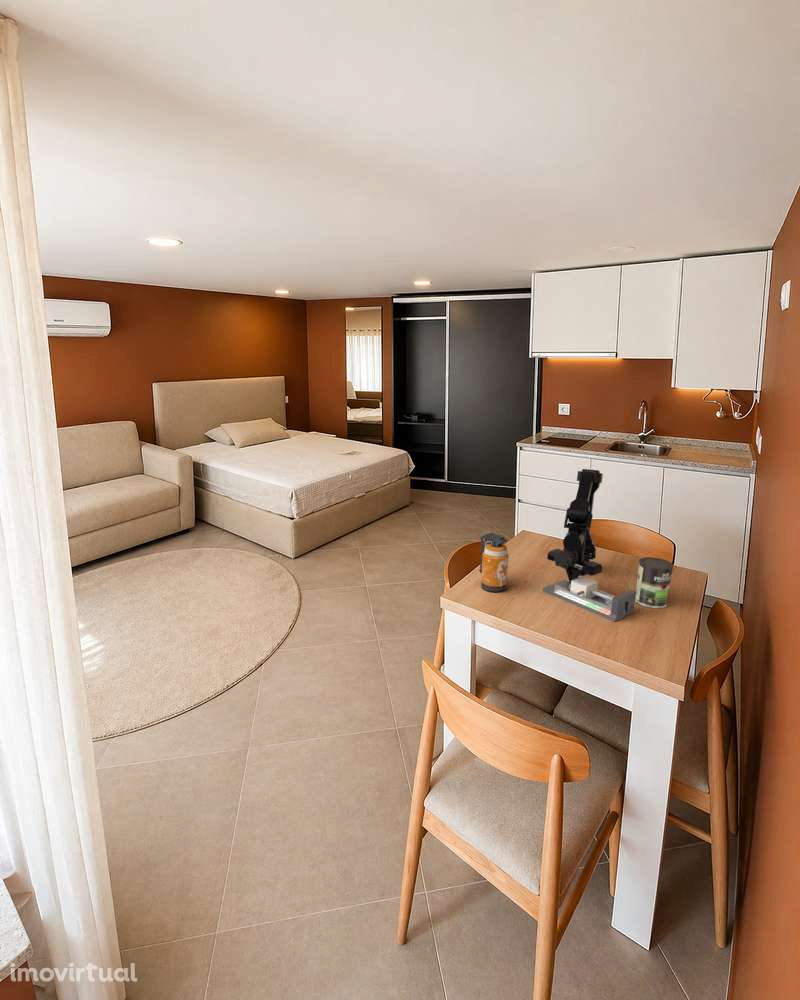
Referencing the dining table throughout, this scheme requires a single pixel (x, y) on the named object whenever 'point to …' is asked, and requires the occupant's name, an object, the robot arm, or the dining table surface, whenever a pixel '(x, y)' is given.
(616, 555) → the dining table surface
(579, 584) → the white cube with rod
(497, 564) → the canister
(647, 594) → the coffee can
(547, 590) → the gauge track
